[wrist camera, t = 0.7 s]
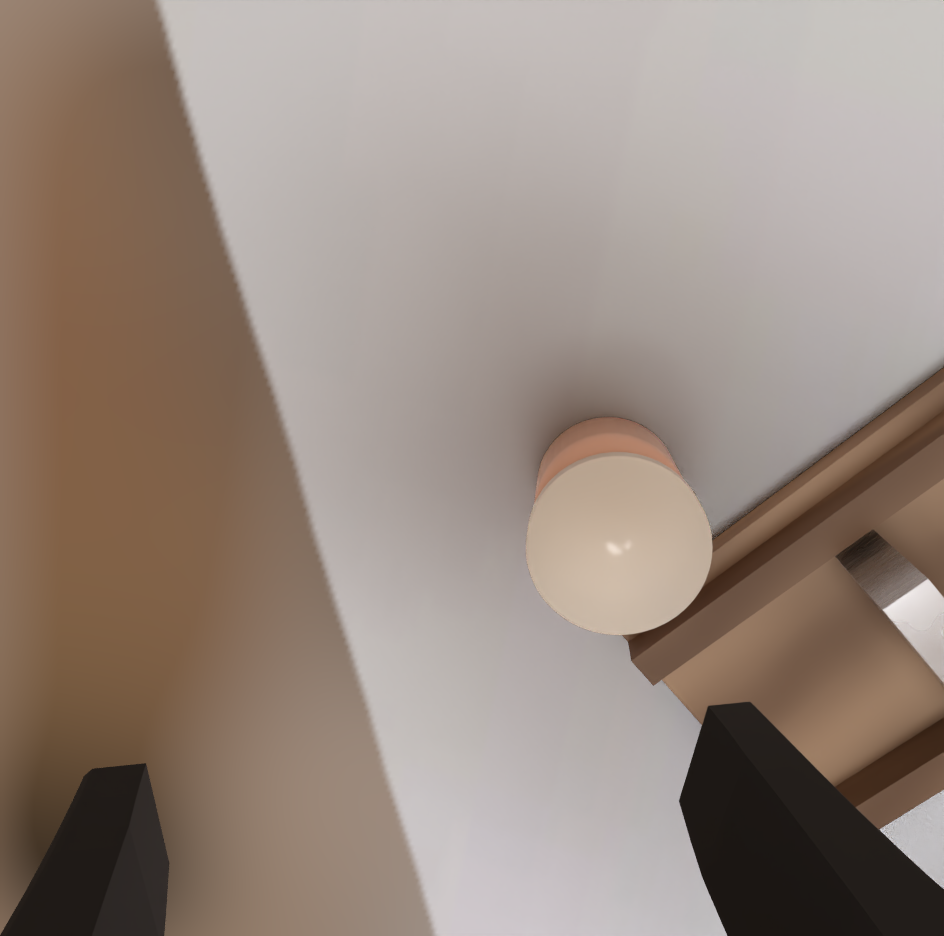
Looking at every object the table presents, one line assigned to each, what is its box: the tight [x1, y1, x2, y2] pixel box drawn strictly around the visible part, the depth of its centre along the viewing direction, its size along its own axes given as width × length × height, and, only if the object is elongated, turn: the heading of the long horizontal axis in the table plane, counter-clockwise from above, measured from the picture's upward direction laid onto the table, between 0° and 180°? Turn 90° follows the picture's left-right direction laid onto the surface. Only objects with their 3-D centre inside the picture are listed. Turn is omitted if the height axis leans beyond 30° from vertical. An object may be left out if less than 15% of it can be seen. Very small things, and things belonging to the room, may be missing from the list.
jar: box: [526, 417, 713, 635], centre depth 28 cm, size 5×5×7 cm
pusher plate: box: [835, 529, 944, 686], centre depth 27 cm, size 7×2×5 cm, turn 43°
